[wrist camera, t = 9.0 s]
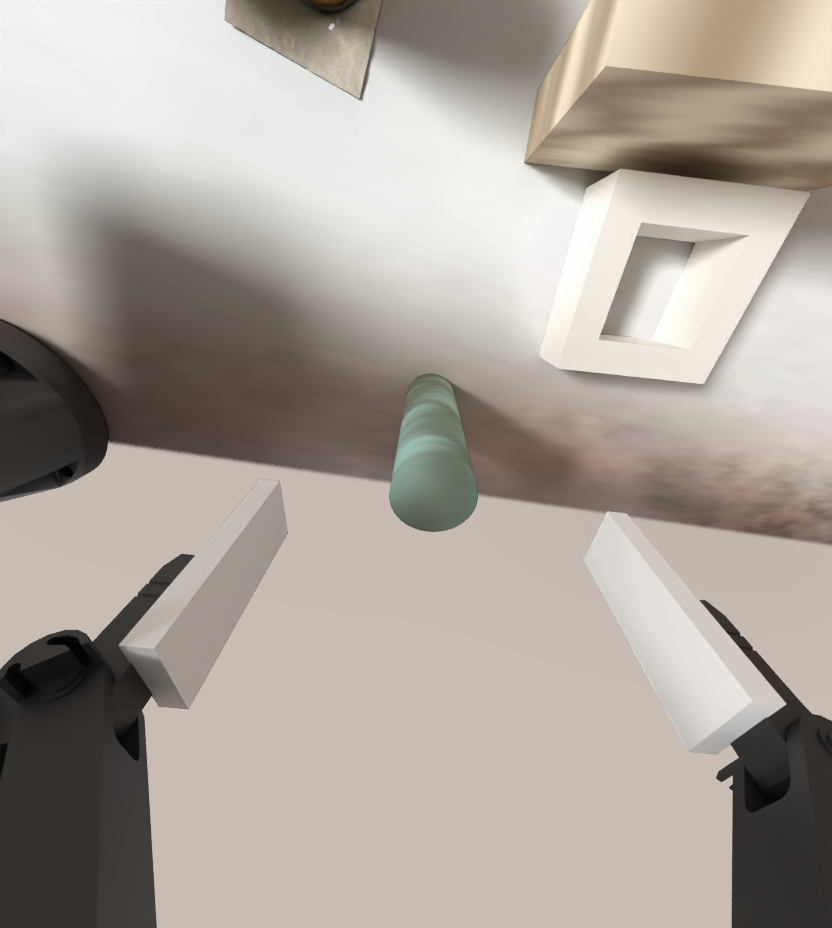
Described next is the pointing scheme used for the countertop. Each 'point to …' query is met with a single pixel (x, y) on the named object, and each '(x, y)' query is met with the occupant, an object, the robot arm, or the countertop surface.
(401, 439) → the dowel
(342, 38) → the condiment
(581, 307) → the socket block
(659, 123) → the wall
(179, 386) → the countertop surface
